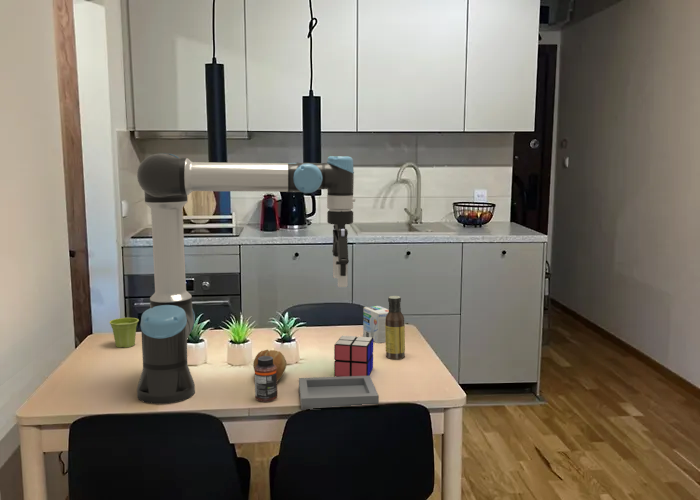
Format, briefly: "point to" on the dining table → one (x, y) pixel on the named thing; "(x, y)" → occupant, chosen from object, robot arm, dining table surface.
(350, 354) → the puzzle cube
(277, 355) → the bread roll
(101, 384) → the dining table surface
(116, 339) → the plant pot
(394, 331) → the sauce bottle
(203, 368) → the dining table surface
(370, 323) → the light bulb box
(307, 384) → the tray
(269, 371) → the supplement bottle
